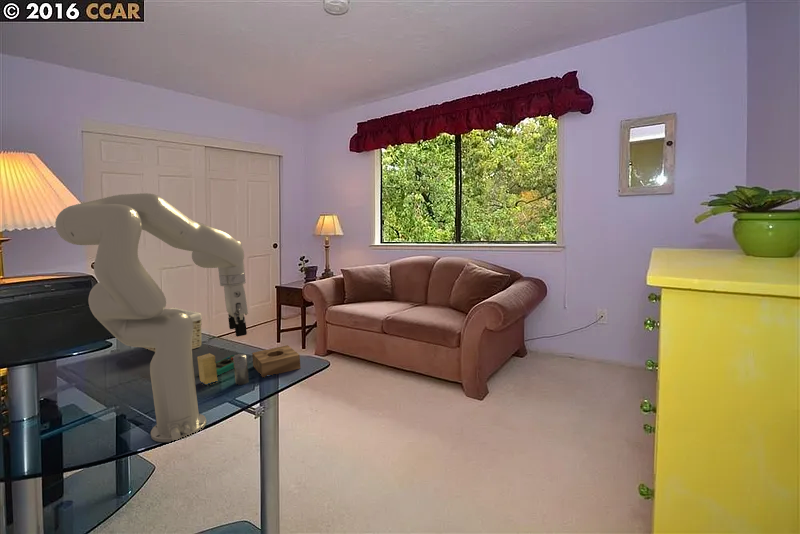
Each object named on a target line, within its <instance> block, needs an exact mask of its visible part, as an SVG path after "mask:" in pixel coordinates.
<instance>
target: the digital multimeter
mask: <svg viewBox="0 0 800 534" xmlns="http://www.w3.org/2000/svg"><path fill="white" fill-rule="evenodd" d="M235 355H236V354H232V355H229V356H227V357H225V358H223V359H221V360H219V361H216V370H217V375H220V374H222V373H224V372H226V373H227V371H228V372H230V371H231V369H232V370H234V361H233V356H235ZM229 370H230V371H229ZM224 374H225V373H224ZM222 375H223V374H222ZM220 376H221V375H220Z"/></svg>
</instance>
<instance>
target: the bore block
mask: <svg viewBox="0 0 800 534" xmlns="http://www.w3.org/2000/svg"><path fill="white" fill-rule="evenodd" d="M251 354H252V357H251V358H252V365H253V368H254V369H255V370H256V371H257V372H258V374H259V373H260V374H261V375H260V374H259V375H260V376H261V377H262V378H263V377H264V378H266V377H265V376H267V375H272V376H274V375H273V374H276V375H280V374H283V373H287V372H292V371H295V370H299V369H301V360H300V359H301V357H300V354H299V353H298V352H297V351H295V349H294V348H292V347H290V345H288V344H287V345H283V346H278V347H273V348H268V349H264V350H263V349H262V350H259V351H255V352H252V353H251ZM279 373H280V374H279Z"/></svg>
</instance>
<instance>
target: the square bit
mask: <svg viewBox="0 0 800 534" xmlns="http://www.w3.org/2000/svg"><path fill="white" fill-rule="evenodd" d="M196 357H197V366H198V375H199V382H200V381H201V382H203V383H204V384H208V383H211V382H215V381H218V377H217V370H216V362H217V361H216V355H214V354H212V353H210V352H209V353H206V354H202V355H199V356H196Z"/></svg>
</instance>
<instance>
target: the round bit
mask: <svg viewBox="0 0 800 534" xmlns="http://www.w3.org/2000/svg"><path fill="white" fill-rule="evenodd" d="M234 355H235V356H233V361H234V369H233V370H234V371H233V372H234V379H235V385H237V384H238V385H237V386H243V385H246V384H248V383H249V382H250V381H249V368H248V360H247V354H246V353H238V354H234Z"/></svg>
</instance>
